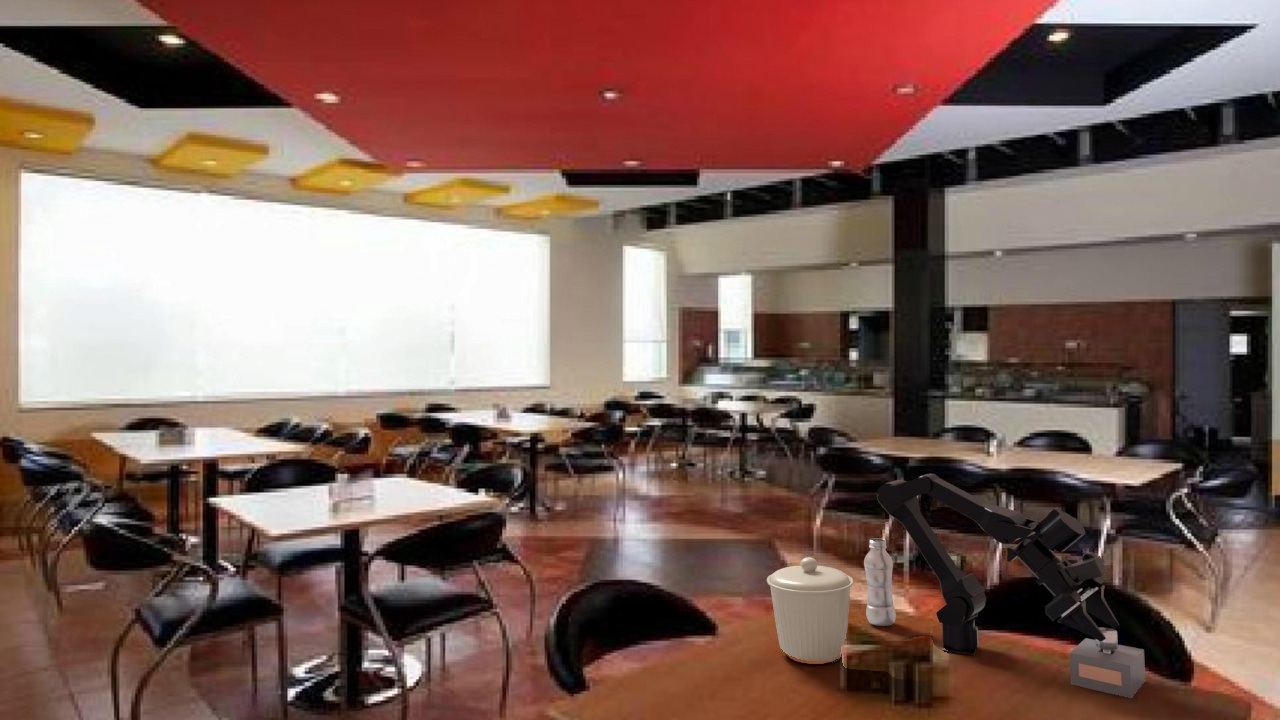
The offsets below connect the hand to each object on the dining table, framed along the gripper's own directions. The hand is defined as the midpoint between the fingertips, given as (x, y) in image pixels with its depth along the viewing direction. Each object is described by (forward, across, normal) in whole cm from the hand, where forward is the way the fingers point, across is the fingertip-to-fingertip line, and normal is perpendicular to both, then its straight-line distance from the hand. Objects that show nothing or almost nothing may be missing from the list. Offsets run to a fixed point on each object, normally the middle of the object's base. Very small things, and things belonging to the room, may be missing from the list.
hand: (1110, 633), depth 151 cm
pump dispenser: (+6, 0, +7) cm, 10 cm away
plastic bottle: (-28, +4, +42) cm, 51 cm away
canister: (-29, -23, +43) cm, 57 cm away
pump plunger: (+5, 0, +6) cm, 8 cm away
